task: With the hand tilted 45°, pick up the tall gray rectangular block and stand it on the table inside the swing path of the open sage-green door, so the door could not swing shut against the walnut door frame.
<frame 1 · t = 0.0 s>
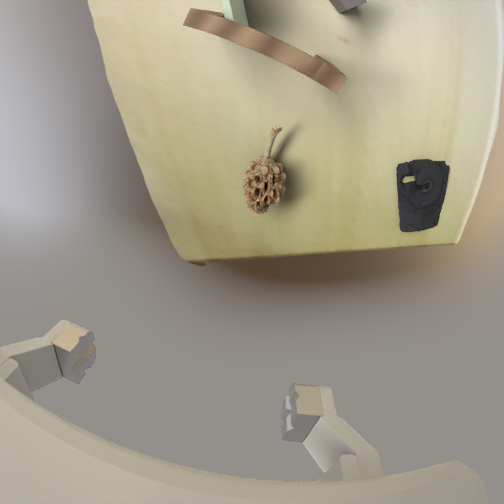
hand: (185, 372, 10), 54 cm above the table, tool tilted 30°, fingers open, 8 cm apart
dried seed pod: (268, 158, 61), on the table
door frame: (246, 29, 40), on the table
dark slate chunk: (420, 194, 60), on the table
gray rectangular block: (341, 1, 32), on the table
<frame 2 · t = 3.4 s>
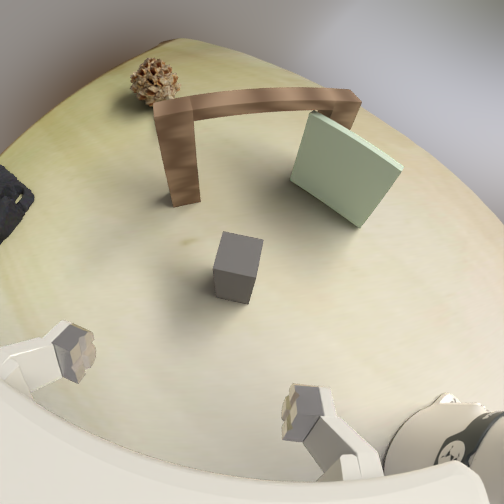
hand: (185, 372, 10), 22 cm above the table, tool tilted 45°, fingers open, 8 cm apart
dried seed pod: (164, 108, 49), on the table
door frame: (288, 178, 43), on the table
door: (343, 170, 35), point 7 cm above the table, hinge at 125.0°
gray rectangular block: (235, 285, 34), on the table
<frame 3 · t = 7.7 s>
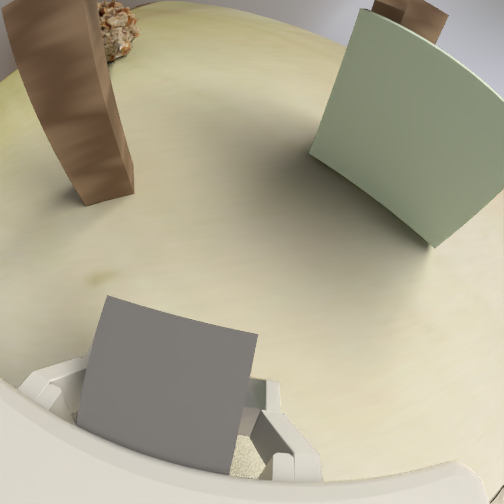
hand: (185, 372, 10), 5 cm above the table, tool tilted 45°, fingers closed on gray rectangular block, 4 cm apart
dried seed pod: (116, 62, 28), on the table
door frame: (305, 150, 22), on the table
door: (419, 134, 15), point 7 cm above the table, hinge at 125.0°
gray rectangular block: (194, 383, 14), on the table, touching gripper
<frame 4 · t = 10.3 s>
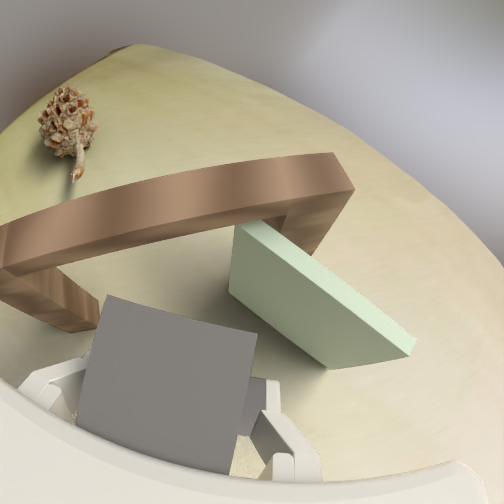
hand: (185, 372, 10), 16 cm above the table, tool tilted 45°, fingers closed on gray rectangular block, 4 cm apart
dried seed pod: (81, 156, 35), on the table
door frame: (227, 285, 28), on the table
door: (307, 304, 21), point 7 cm above the table, hinge at 125.0°
gray rectangular block: (194, 383, 14), point 11 cm above the table, touching gripper
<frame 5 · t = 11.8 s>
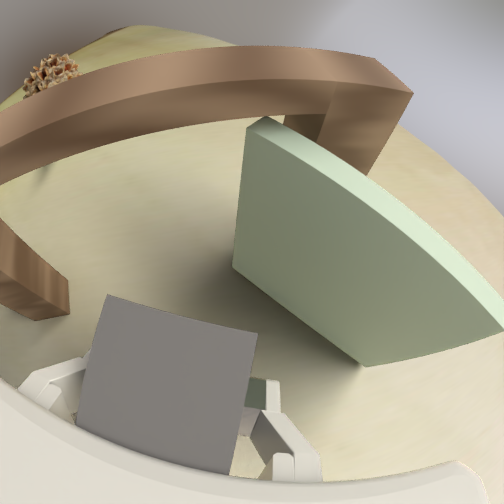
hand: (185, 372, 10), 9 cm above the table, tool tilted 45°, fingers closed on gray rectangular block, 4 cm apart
dried seed pod: (66, 125, 28), on the table
door frame: (230, 259, 22), on the table
door: (345, 273, 15), point 7 cm above the table, hinge at 125.0°
gray rectangular block: (194, 383, 14), point 4 cm above the table, touching gripper
when the fingers open (6 cm above the table, at t = 12.8 s): gray rectangular block drops 2 cm, on the table.
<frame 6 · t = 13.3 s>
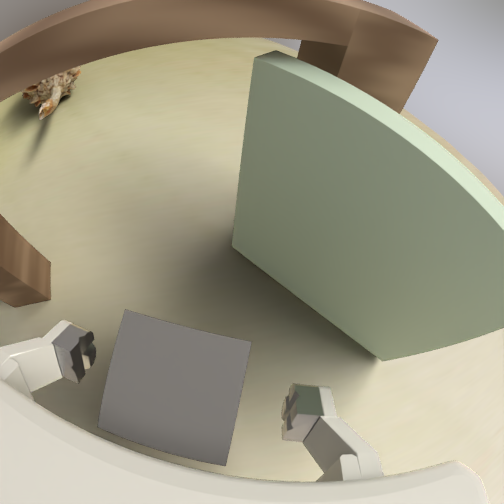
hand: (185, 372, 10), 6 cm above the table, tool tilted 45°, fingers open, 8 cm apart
dried seed pod: (59, 106, 26), on the table
door frame: (230, 238, 19), on the table
door: (366, 246, 12), point 7 cm above the table, hinge at 125.0°
gray rectangular block: (196, 383, 15), on the table
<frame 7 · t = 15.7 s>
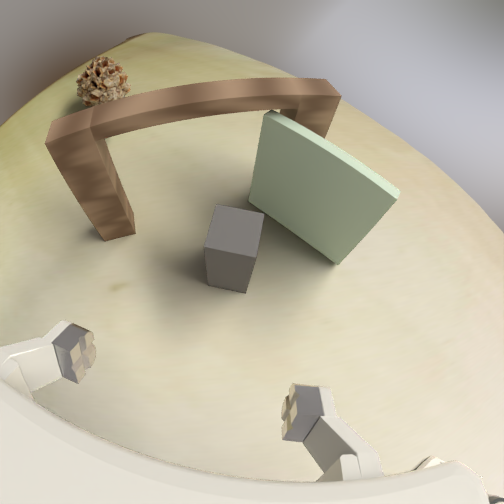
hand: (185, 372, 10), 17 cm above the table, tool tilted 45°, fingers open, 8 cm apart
dried seed pod: (113, 113, 40), on the table
door frame: (247, 198, 34), on the table
door: (315, 191, 27), point 7 cm above the table, hinge at 125.0°
gray rectangular block: (230, 271, 30), on the table
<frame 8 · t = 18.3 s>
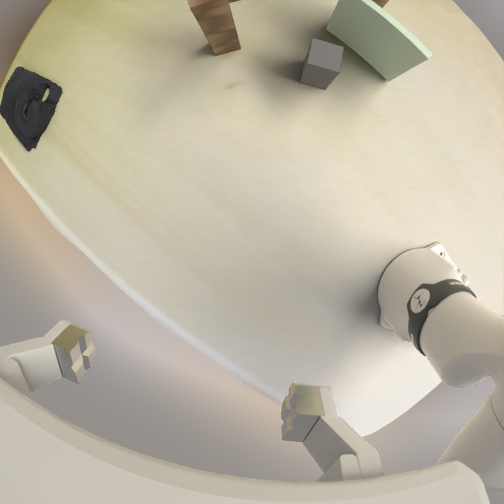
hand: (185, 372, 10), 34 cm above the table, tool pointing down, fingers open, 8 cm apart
door frame: (324, 26, 31), on the table
dark slate chunk: (29, 103, 37), on the table
door: (376, 34, 26), point 7 cm above the table, hinge at 125.0°
gray rectangular block: (314, 75, 35), on the table
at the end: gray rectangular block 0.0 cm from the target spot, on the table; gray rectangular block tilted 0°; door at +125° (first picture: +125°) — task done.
